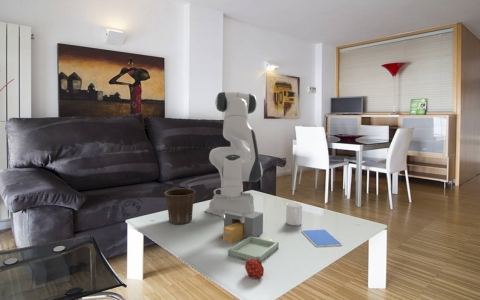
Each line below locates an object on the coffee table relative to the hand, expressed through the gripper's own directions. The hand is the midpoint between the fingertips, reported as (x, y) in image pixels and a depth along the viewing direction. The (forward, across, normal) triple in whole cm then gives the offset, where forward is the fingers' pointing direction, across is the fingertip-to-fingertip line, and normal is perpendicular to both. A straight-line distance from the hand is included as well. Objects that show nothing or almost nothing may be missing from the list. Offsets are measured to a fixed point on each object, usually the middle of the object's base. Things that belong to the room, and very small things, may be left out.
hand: (233, 221), depth 146 cm
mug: (+9, -16, -36) cm, 40 cm away
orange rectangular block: (+9, +1, -3) cm, 10 cm away
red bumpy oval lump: (+10, -24, +24) cm, 36 cm away
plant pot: (+8, +39, -8) cm, 40 cm away
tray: (+9, -14, +6) cm, 18 cm away
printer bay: (+9, +1, -10) cm, 14 cm away
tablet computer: (+10, -33, -24) cm, 42 cm away
